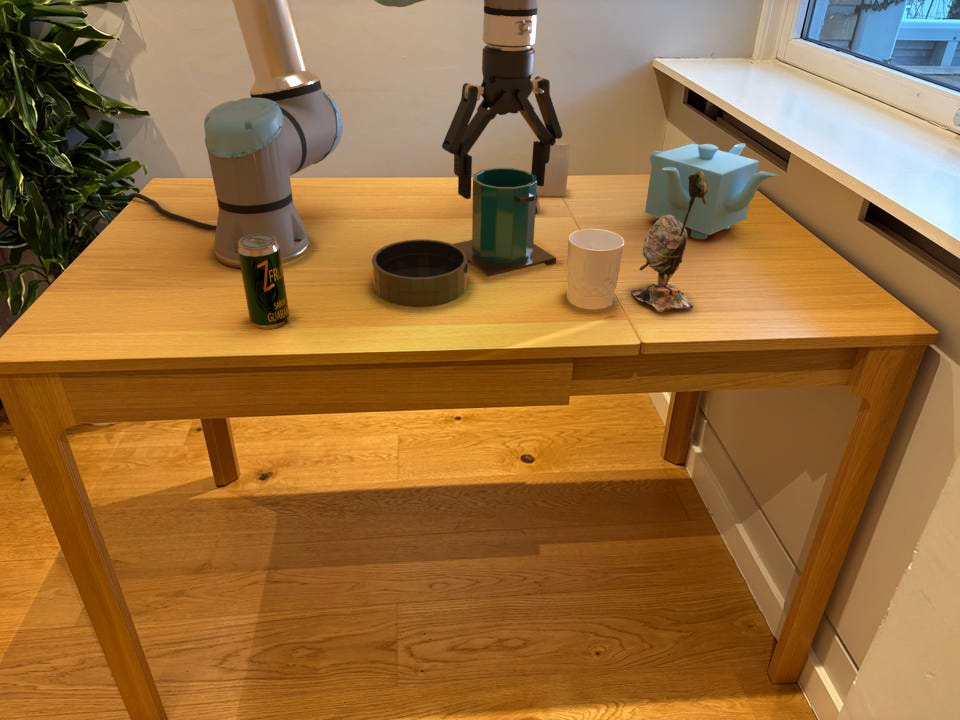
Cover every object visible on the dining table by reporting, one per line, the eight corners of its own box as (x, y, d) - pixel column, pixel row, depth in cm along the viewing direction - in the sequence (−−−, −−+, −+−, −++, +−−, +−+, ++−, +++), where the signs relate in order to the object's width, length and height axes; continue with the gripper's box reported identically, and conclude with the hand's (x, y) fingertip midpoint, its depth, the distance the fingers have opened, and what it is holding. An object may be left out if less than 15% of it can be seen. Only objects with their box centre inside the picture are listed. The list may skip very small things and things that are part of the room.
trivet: (448, 250, 123) (448, 244, 122) (513, 236, 128) (513, 230, 128) (488, 280, 113) (488, 274, 113) (555, 263, 119) (556, 257, 118)
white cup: (581, 285, 112) (587, 224, 107) (626, 300, 108) (634, 238, 103) (552, 303, 107) (557, 240, 102) (598, 320, 103) (605, 255, 97)
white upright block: (565, 196, 146) (569, 147, 140) (532, 195, 146) (535, 145, 141) (565, 190, 149) (569, 141, 143) (532, 189, 149) (535, 140, 144)
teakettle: (637, 206, 142) (648, 130, 134) (734, 209, 141) (750, 133, 133) (651, 244, 126) (664, 161, 118) (760, 248, 125) (780, 164, 117)
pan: (359, 279, 112) (357, 250, 110) (440, 261, 119) (440, 233, 116) (398, 318, 102) (396, 287, 99) (484, 296, 108) (485, 266, 106)
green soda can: (242, 324, 100) (227, 243, 94) (269, 308, 104) (256, 230, 98) (271, 334, 98) (258, 252, 92) (298, 317, 102) (287, 238, 96)
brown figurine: (672, 280, 114) (694, 154, 103) (697, 315, 105) (725, 180, 94) (622, 282, 113) (639, 155, 103) (643, 316, 104) (664, 181, 93)
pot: (456, 242, 123) (456, 170, 116) (506, 232, 127) (509, 161, 120) (497, 272, 113) (499, 195, 106) (549, 259, 117) (555, 185, 111)
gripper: (444, 56, 95) (443, 210, 106) (594, 45, 106) (579, 185, 117) (418, 46, 100) (420, 193, 112) (564, 37, 111) (552, 172, 123)
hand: (501, 190), depth 115 cm, fingers open, 13 cm apart
